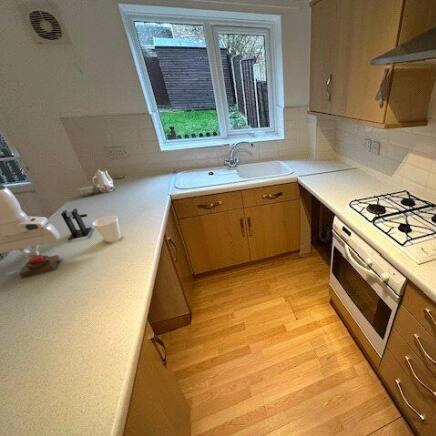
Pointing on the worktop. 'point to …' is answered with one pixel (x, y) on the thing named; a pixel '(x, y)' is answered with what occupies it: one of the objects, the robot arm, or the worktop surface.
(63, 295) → the worktop surface
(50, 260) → the button block
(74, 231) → the bracket
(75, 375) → the worktop surface
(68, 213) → the lever
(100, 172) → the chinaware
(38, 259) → the button
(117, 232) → the cup
